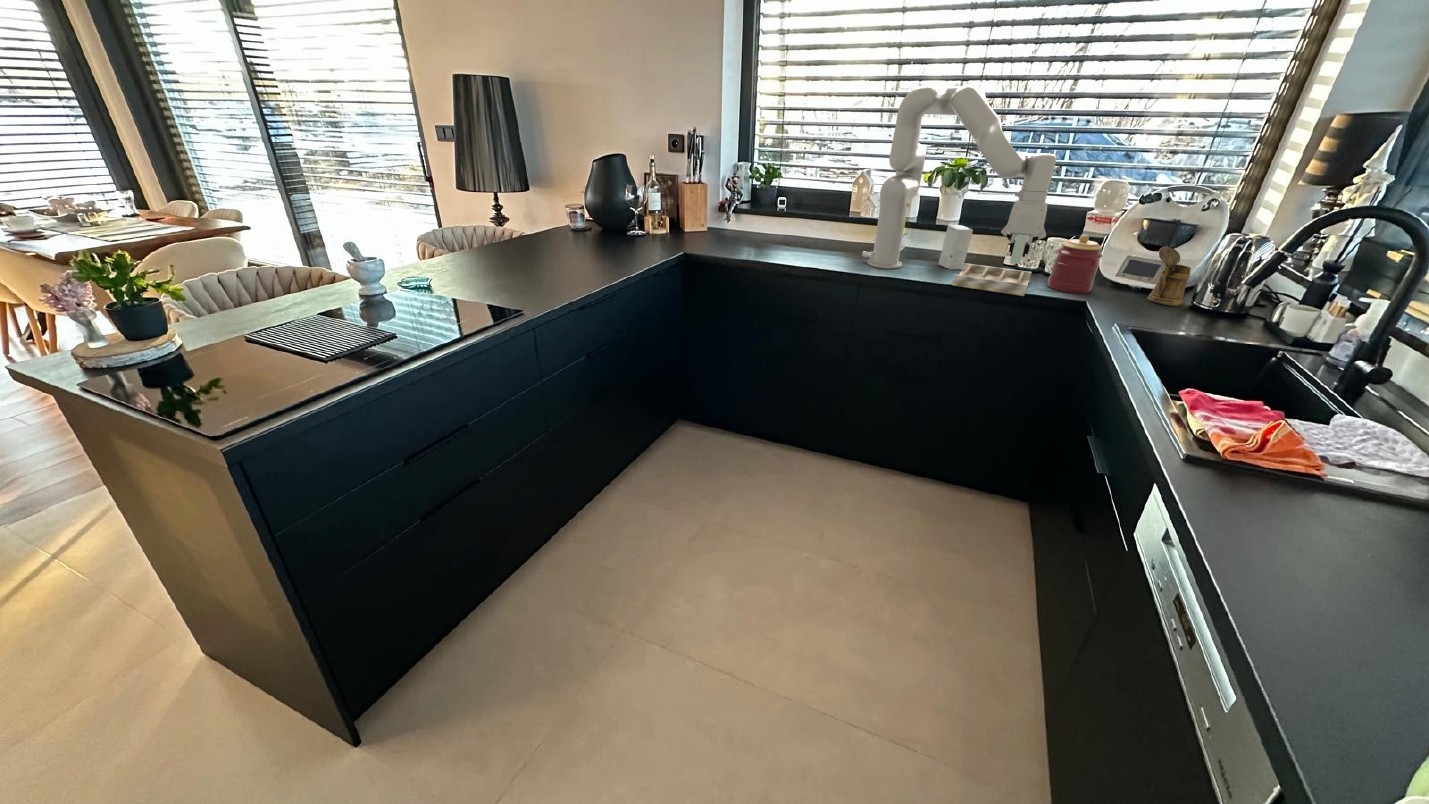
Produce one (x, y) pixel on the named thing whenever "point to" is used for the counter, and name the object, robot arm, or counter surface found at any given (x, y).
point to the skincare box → (955, 246)
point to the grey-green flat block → (1018, 248)
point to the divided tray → (992, 279)
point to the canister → (1075, 265)
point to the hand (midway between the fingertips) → (1017, 255)
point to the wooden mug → (1170, 279)
